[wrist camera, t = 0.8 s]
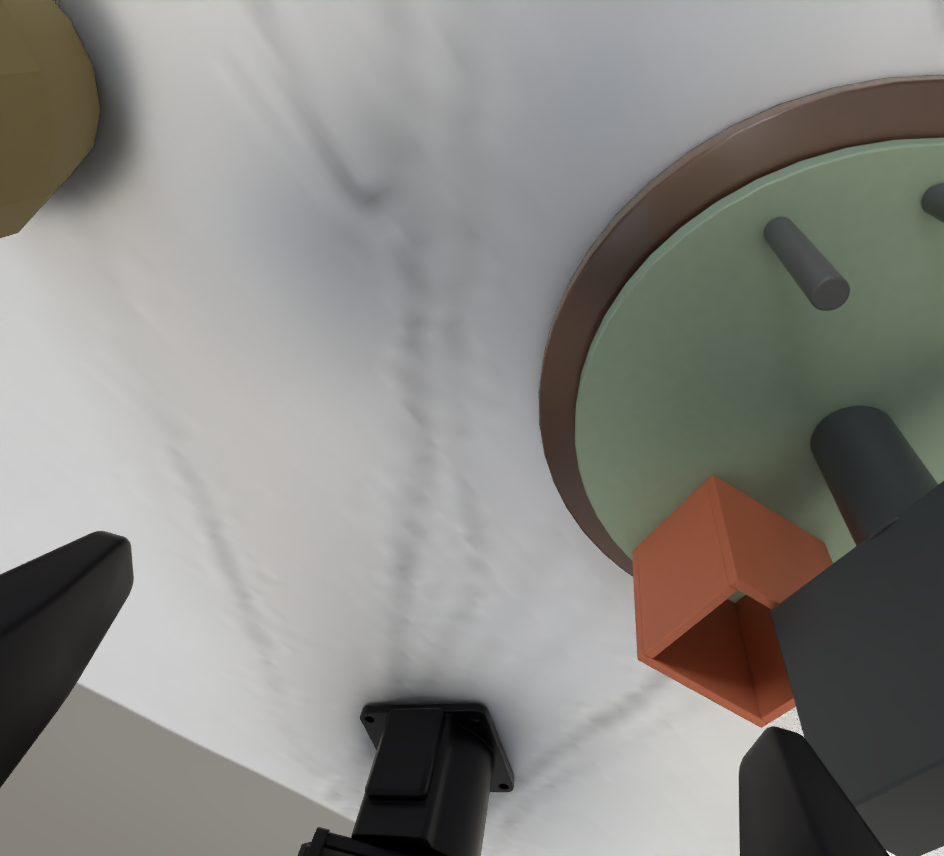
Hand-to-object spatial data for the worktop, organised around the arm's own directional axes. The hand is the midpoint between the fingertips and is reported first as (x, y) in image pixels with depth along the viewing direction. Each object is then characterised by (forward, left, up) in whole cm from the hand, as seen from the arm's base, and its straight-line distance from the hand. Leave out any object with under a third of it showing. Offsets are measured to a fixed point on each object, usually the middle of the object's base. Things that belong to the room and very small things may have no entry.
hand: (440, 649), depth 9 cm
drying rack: (-5, -8, -12) cm, 16 cm away
